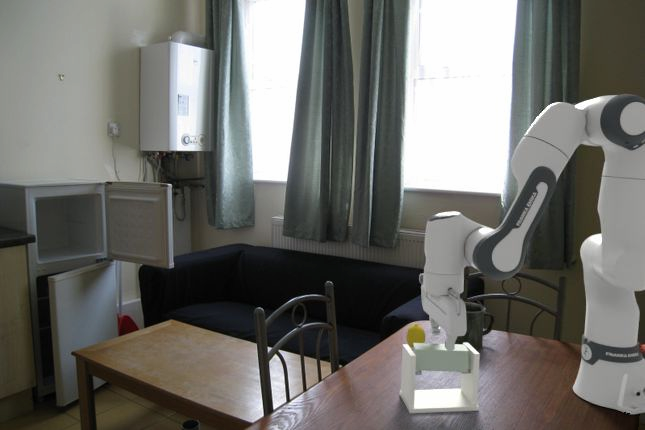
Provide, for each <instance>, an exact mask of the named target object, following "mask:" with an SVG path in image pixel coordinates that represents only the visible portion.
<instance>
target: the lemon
mask: <svg viewBox="0 0 645 430" xmlns="http://www.w3.org/2000/svg"><path fill="white" fill-rule="evenodd" d="M406 342H407V343H406V344H408V345H409V347H410V348H411V349H413V343H426V331H425V330H424V328H423V327H422V326H421V325H419V324H418V323H415V324H413V325H410V326H409V327H408V329H407V332H406Z"/></svg>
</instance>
